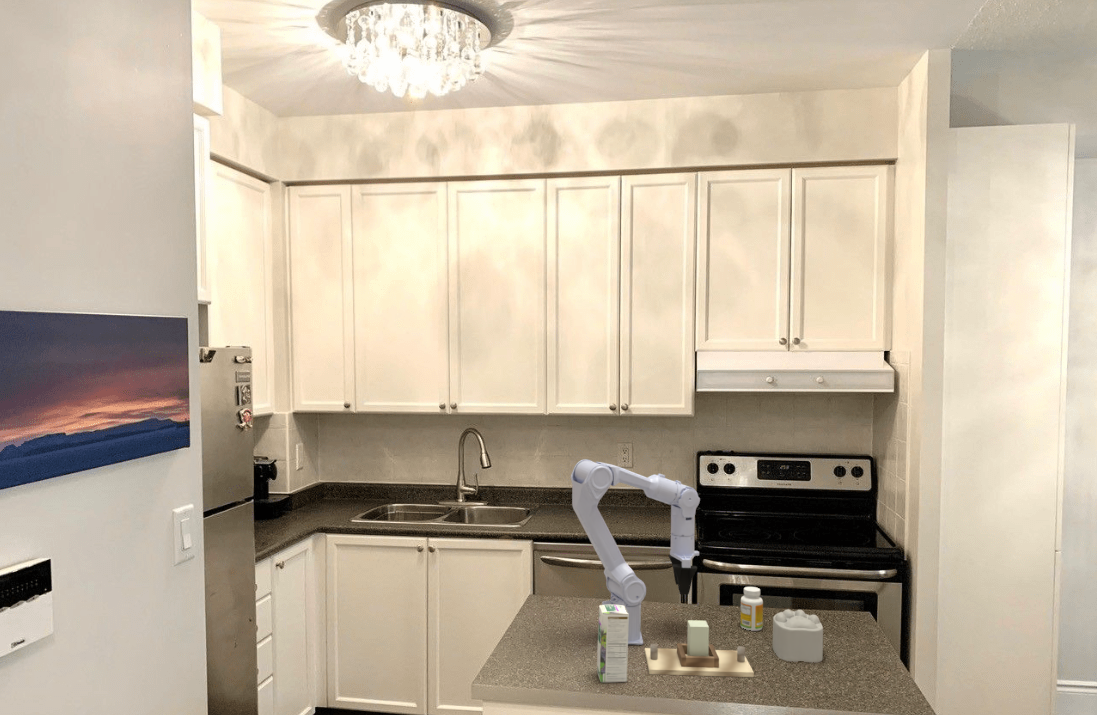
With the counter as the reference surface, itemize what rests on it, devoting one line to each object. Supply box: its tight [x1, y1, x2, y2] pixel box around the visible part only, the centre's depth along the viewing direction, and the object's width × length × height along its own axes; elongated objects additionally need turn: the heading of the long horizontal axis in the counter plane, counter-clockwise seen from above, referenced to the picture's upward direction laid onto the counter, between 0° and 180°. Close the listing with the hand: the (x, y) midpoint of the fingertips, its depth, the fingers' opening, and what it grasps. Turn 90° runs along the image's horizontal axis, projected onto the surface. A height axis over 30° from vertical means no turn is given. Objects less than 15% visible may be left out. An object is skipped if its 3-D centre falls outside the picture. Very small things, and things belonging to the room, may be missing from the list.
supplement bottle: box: [740, 586, 764, 632], centre depth 196 cm, size 5×5×10 cm
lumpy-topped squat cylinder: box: [772, 608, 824, 664], centre depth 181 cm, size 10×13×9 cm
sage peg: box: [686, 619, 710, 656], centre depth 173 cm, size 4×4×8 cm
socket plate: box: [644, 643, 755, 678], centre depth 173 cm, size 22×12×4 cm, turn 88°
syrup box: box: [596, 604, 629, 684], centre depth 165 cm, size 6×6×14 cm
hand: (682, 589), depth 193 cm, fingers open, 7 cm apart
